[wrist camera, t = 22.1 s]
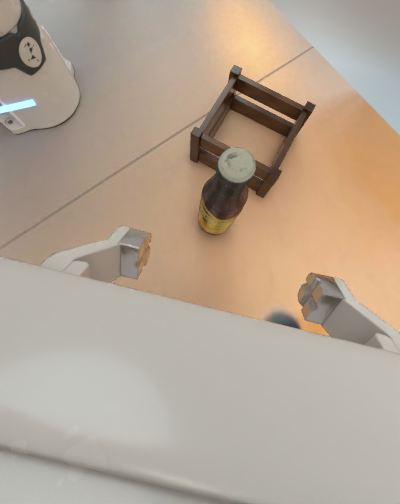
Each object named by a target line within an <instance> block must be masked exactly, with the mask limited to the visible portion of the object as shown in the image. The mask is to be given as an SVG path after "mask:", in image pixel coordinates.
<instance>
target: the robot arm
mask: <svg viewBox="0 0 400 504" xmlns="http://www.w3.org/2000/svg"><path fill="white" fill-rule="evenodd" d="M79 99H80V91H79V87H78V85H77V83H76V81H75V79H74V67H73V65H72V64H71V62H70V61H69V60H67V59H64V58H63V57H62V55H61V54H60V52H59V51H58V49H57V47H56V46H55V44H54V42H53V41H52V39H51V38H50V36H49V34H48V33H47V31H46V30H45V29H44V28H43V27H42V26H40V25H38V24H37V23H36V21H35V20H34V17H33V15H32V13H31V11H30V9H29V8H28V6H27V5H26V4H25V2H24V1H23V0H0V123H1V124H3V125H4V126H5V127H6V128H7V129H9V130H10V131H11V132H12V133H14V134H20V133H23V132H26V131H28V130H31V129H43V128H49V127H53V126H56V125H58V124H60V123H62V122H64V121H65V120H67V119H68V118H69V117H70V116H71V115H72V114H73V113H74V111H75V110H76V108H77V106H78V103H79ZM150 242H151V233H149V232H145V231H141V230H137V229H134V228H130V227H126V226H119V228H118V229H117V230H116V231H115V232H114V233H113V234H112V235H111V236H110V237H109V238H108V239H107V240H106V241H105V240H101V241H98V242H94V243H90V244H87V245H83V246H79V247H76V248H72V249H68V250H65V251H61V252H57V253H54V254H52V255H51V256H50V257H49V258H47V259H46V260H45V261H44V262H43V263H41V264H40V265H39V266H37V265H33V264H29V263H25V262H21V261H16V260H12V259H8V258H4V257H0V504H400V333H399V332H398V331H397V330H396V329H394V328H393V327H392V326H390V325H389V324H388V323H386V322H385V321H384V320H382V319H381V318H380V317H378V316H377V315H376V314H374V313H373V312H372V311H370V310H369V309H368V308H366V307H365V306H364V305H362V304H361V303H359V302H357V301H356V300H355V298H354V296H353V295H352V293H351V292H350V290H349V288H348V287H347V285H346V284H345V282H344V281H343V280H342V279H339V278H334V277H329V276H324V275H320V274H315V273H310V274H309V275H308V276H307V278H306V281H307V283H305V284H303V285H302V286H301V287H300V289H299V292H298V301H299V303H300V304H301V305H302V306H303V308H302V309H301V310H302V313H303V316H304V319H305V320H306V321H310V322H313V323H317V324H321V325H322V327H323V328H324V329H325V330H326V331H327V333H328V334H329V335H330V336H331V337H329V336H325V335H321V334H317V333H313V332H309V331H304V330H300V329H296V328H292V327H288V326H284V325H280V324H276V323H272V322H267V321H263V320H259V319H255V318H251V317H247V316H243V315H239V314H234V313H230V312H226V311H222V310H218V309H214V308H210V307H206V306H202V305H197V304H193V303H189V302H185V301H181V300H177V299H173V298H169V297H165V296H160V295H156V294H152V293H148V292H144V291H140V290H136V289H132V288H128V287H123V286H119V285H115V284H111V283H110V282H111V281H113V280H115V279H117V278H118V277H120V276H124V277H128V278H133V279H138V278H139V276H140V274H141V272H142V268H143V266H145V265H146V263H147V261H148V258H149V254H150V247H149V243H150Z"/></svg>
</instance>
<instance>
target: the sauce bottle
mask: <svg viewBox="0 0 400 504" xmlns="http://www.w3.org/2000/svg"><path fill="white" fill-rule="evenodd" d="M255 170H256V163H255V159H254V157H253V156H252V154H250V153H249V152H248V151H247V150H246V149H243V148H239V147H233V148H229V149H227V150H226V151H224V152H223V153H222V154H221V155H220V157H219V159H218V162H217V165H216V174H215V175H214V176H213V177H212V178H210V179H209V180H208V181H207V182H206V183H205V185H204V187H203V190H202V195H201V201H200V208H199V216H198V218H199V223H200V225H201V227H202V229H203V230H205V231H206V232H208V233H210V234H213V235H216V234H221V233H223V232H225V231H226V230H227V229H228V228H229V227H230V226H231V224H232V223H233V222H234V220H235V219H236V217H237V216H238V215H239V213H240V212H241V210H242V208H243V206H244V205H245V203H246V201H247V198H248V187H247V184H248V183H249V182H250V181H251V179H252V177H253V175H254V173H255Z"/></svg>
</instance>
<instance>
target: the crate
mask: <svg viewBox="0 0 400 504" xmlns="http://www.w3.org/2000/svg"><path fill="white" fill-rule="evenodd" d="M241 71H242V68H240V67H238V66H236V65H234V66H233V67H232V69H231V71H230V75H229V81H228V84H227V85H226V87H225V89H224V90H223V92H222V93H221V95H220V97H219V98H218V100H217V101H216V103H215V104H214V106H213V108H212V109H211V111H210V112H209V114H208V116H207V117H206V119H205V120H204V122H203V124H202V125H201V127H200V128H197V127H194V129H193V131H192V132H191V141H190V160H192V161H194V162H196V163H197V162H198V161H200V162H202V163H204V164H206V165H208V166H209V167H211V168H213V169H215V170H216V165H217V162H218V159H219V158H218V157H216V156H214V155H212V154H211V153H213V154H215V155H217V156H219V157H220V155H221V154H222V153H223V152H224V151H226V150H227V149H229V148H231V147H229V146H227V145H225V144H223V143H221V142H219V141H217V140H215V139H213V136H214V135H215V133H216V131H217V130H218V128H219V126H220V125H221V123H222V121H223V120H224V118H225V117H226V115H227V113H228V112H229V110H230V108H231V109H233V110H235V111H237V112H239V113H241V114H243V115H245V116H247V117H249V118H251V119H253V120H255V121H257V122H258V123H260V124H262V125H264V126H266V127H268V128H270V129H272V130H274V131H276V132H278V133H280V134H282V135H284V136H286V138H285V140H284V142H283V144H282V146H281V148H280V149H279V151H278V153H277V155H276V157H275V159H274V161H273V163H272V165H271V166H270V167H268V166H266V165H264V164H262V163H260V162H258V161H256V160H255V163H256V170H255V173H254V175H256V176H258V177H260V178H262V179H263V180H261V179H259V178H257V177H255V176H253V177H252V179H251V181H250V182H249V183H248V184H247V186H248V187H250V188H252V189H253V190H255V191H257V193H256V194H257V195H259V196H261V197H264V196H265V195H266V194H267V192H268V191H269V190H270V188H271V187H272V186H273V185H274V183H275V182H276V181H277V179H278V178H279V176H280V174H281V172H282V171H281V170H279V167H280V165H281V163H282V161H283V159H284V157H285V155H286V153H287V152H288V150H289V148H290V146H291V144H292V142H293V140H294V138H295V137H296V135H297V134H298V132H299V131H300V129H301V128H302V126H303V125H304V123H305V122H306V121H307V119H308V118H309V116H310V115H311V113H312V112H313V110H314V108H315V106H316V105H314V104H312V103H310V102H308V101H307V103H306V105H305V106H303V105H301V104H299V103H297V102H295V101H293V100H291V99H289V98H287V97H285V96H283V95H281V94H279V93H277V92H275V91H273V90H271V89H269V88H267V87H265V86H263V85H261V84H259V83H257V82H255V81H253V80H251V79H249V78H247V77H245V76H243V75H241ZM237 91H238V92H240V93H242V94H244V95H246V96H248V97H250V98H252V99H254V100H256V101H258V102H260V103H262V104H264V105H266V106H268V107H270V108H272V109H274V110H276V111H278V112H280V113H282V114H284V115H286V116H288V117H290V118H292V119H294V120H296V121H295V122H294V124H293V123H291V122H289V121H287V120H285V119H283V118H281V117H279V116H277V115H275V114H273V113H271V112H269V111H267V110H265V109H263V108H261V107H259V106H257V105H255V104H253V103H251V102H249V101H247V100H245V99H243V98H241V97H239V96H237V95H236V92H237ZM205 149H206V150H208V151H209V152H211V153H209V152H207V151H205Z"/></svg>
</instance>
